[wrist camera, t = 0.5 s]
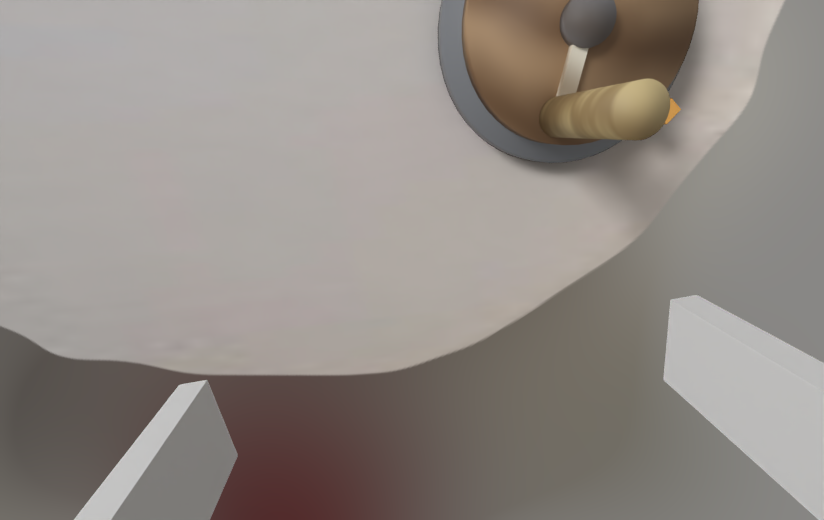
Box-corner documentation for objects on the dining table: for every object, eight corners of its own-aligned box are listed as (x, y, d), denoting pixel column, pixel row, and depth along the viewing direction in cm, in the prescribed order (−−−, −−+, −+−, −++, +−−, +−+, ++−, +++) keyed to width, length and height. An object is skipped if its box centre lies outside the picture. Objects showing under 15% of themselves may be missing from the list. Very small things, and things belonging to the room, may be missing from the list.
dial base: (466, -152, 27) (484, -212, 22) (715, -82, 29) (779, -122, 25) (418, 139, 33) (424, 141, 28) (627, 177, 36) (665, 184, 31)
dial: (490, -141, 26) (577, -358, 14) (714, -78, 28) (945, -223, 16) (441, 124, 31) (477, 120, 19) (633, 160, 33) (766, 175, 21)
